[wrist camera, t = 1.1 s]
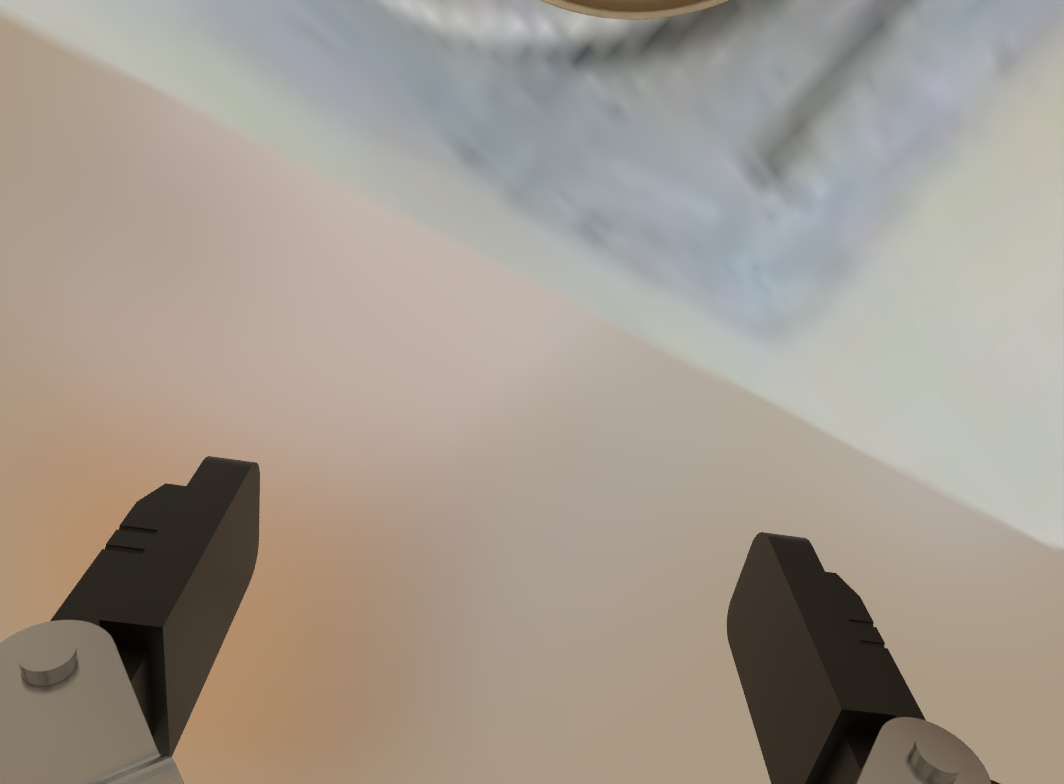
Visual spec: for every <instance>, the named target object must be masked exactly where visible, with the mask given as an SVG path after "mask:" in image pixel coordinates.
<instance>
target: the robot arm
mask: <svg viewBox="0 0 1064 784" xmlns="http://www.w3.org/2000/svg"><path fill="white" fill-rule="evenodd" d="M259 492H260V472H259V466H258V464H257V463H255V462H247V461H240V460H233V459H225V458H218V457H210V456H208V457H206V458H205V459H204V460H203V462H202V463H201V465H200V466H199V468H198V469H197V471H196V473H195V474H194V475H193V477H192V479H191V480H190V482H189V483H188V485H187V486H180V485H173V484H164V485H163V486H161V487H159V488H158V489H156V490H155V491H153V492H152V493H150V494H148V495H147V496H145V497H144V498H142V499H141V500H139V501H137V502H136V504H135V505H134V507H133V508H132V509H131V511H130V512H129V513H128V515H127V516H126V518H125V519H124V520H123V522H122V523H121V524H120V528H119V530H116V531H115V533H114V534H113V535H112V537H111V538H110V539H109V541H108V542H107V544H106V547H105V550H104V549H102V550H101V552H100V553H99V555H98V556H97V557H96V559H95V560H94V561H93V563H92V564H91V566H90V567H89V569H88V570H87V571H86V572H85V574H84V575H83V577H82V578H81V579H80V581H79V582H78V583H77V585H76V586H75V588H74V589H73V590H72V592H71V593H70V594H69V596H68V597H67V599H66V600H65V601H64V603H63V604H62V606H61V607H60V608H59V610H58V611H57V612H56V614H55V615H54V617H53V618H52V619H51V621H50V622H45V623H41V624H37V625H34V626H31V627H29V628H26V629H24V630H21V631H19V632H17V633H15V634H13V635H12V636H10V637H8V638H7V639H5V640H4V641H2V642H1V643H0V784H184V782H183V780H182V777H181V775H180V772H179V770H178V768H177V766H176V764H175V762H174V760H173V759H172V755H173V753H174V750H175V748H176V746H177V744H178V741H179V739H180V737H181V735H182V733H183V730H184V728H185V726H186V724H187V721H188V719H189V717H190V715H191V712H192V710H193V708H194V706H195V704H196V701H197V699H198V697H199V695H200V692H201V690H202V688H203V686H204V683H205V681H206V679H207V677H208V675H209V672H210V670H211V668H212V666H213V663H214V661H215V659H216V657H217V654H218V652H219V650H220V648H221V645H222V643H223V641H224V639H225V636H226V634H227V632H228V630H229V628H230V625H231V623H232V621H233V619H234V616H235V614H236V612H237V610H238V608H239V605H240V603H241V601H242V599H243V596H244V594H245V592H246V590H247V587H248V585H249V583H250V580H251V578H252V574H253V571H254V568H255V564H256V559H257V553H258V544H259V496H260V495H259V494H260V493H259ZM727 635H728V641H729V645H730V648H731V651H732V655H733V658H734V661H735V664H736V668H737V671H738V674H739V678H740V681H741V685H742V688H743V691H744V694H745V698H746V701H747V704H748V708H749V711H750V714H751V717H752V721H753V724H754V728H755V730H756V734H757V737H758V741H759V744H760V747H761V751H762V754H763V757H764V760H765V764H766V767H767V771H768V774H769V777H770V780H771V784H999V783H997V782H995V781H992V780H990V778H989V775H988V773H987V771H986V769H985V767H984V765H983V764H982V762H981V761H980V760H979V758H978V757H977V756H976V755H975V754H974V752H973V751H972V750H971V749H970V748H969V747H968V746H967V745H966V744H964V742H962V741H961V740H960V739H958V738H957V737H956V736H955V735H953V734H952V733H950V732H948V731H947V730H945V729H943V728H941V727H939V726H937V725H935V724H933V723H930V722H928V721H926V720H925V718H924V716H923V714H922V712H921V711H920V708H919V707H918V705H917V703H916V701H915V699H914V697H913V695H912V694H911V692H910V690H909V688H908V686H907V684H906V682H905V680H904V679H903V677H902V675H901V673H900V671H899V669H898V667H897V665H896V664H895V662H894V660H893V658H892V656H891V654H890V652H889V651H888V649H887V648H884V641H883V639H882V637H881V635H880V633H879V632H878V630H877V628H876V627H873V620H872V618H871V617H870V615H869V613H868V611H867V609H866V607H865V605H864V604H863V602H862V600H861V598H860V596H859V595H857V593H856V592H854V590H852V589H851V588H850V587H849V586H848V585H847V584H846V583H845V582H844V581H843V580H842V579H841V578H840V577H839V576H838V575H837V574H836V573H830V572H825V571H824V569H823V567H822V565H821V563H820V561H819V559H818V557H817V555H816V553H815V551H814V548H813V546H812V545H811V543H810V541H809V540H807V539H806V538H800V537H793V536H786V535H778V534H770V533H763V532H761V533H759V534H757V535H756V537H755V538H754V540H753V542H752V545H751V547H750V550H749V553H748V555H747V558H746V561H745V564H744V566H743V569H742V572H741V574H740V577H739V580H738V582H737V586H736V588H735V591H734V593H733V596H732V599H731V601H730V605H729V609H728V616H727Z"/></svg>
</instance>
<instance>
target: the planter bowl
mask: <svg viewBox="0 0 1064 784" xmlns="http://www.w3.org/2000/svg"><path fill="white" fill-rule="evenodd" d="M541 1H543V2H546V3H548V4H551V5H554V6H557V7H559V8H563V9H566V10H569V11H572V12H577V13H581V14H585V15H591V16H597V17H602V18H615V19H653V18H665V17H671V16H677V15H683V14H687V13H691V12H695V11H699V10H702V9H706V8H709V7H712V6H715V5H718V4H721V3H723V2H726V1H728V0H541Z"/></svg>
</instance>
